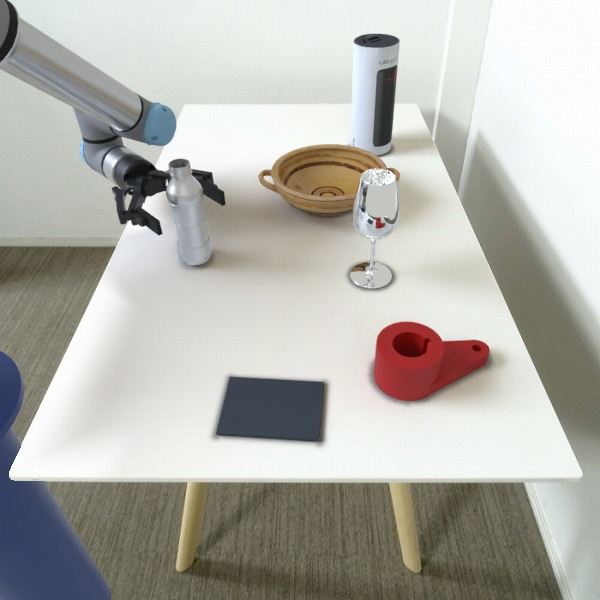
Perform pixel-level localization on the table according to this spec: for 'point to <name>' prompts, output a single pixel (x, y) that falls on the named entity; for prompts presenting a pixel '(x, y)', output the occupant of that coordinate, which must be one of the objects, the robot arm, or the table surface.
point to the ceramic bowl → (322, 177)
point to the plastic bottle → (188, 213)
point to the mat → (272, 409)
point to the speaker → (374, 91)
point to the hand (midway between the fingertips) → (192, 213)
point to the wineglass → (374, 222)
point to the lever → (422, 360)
